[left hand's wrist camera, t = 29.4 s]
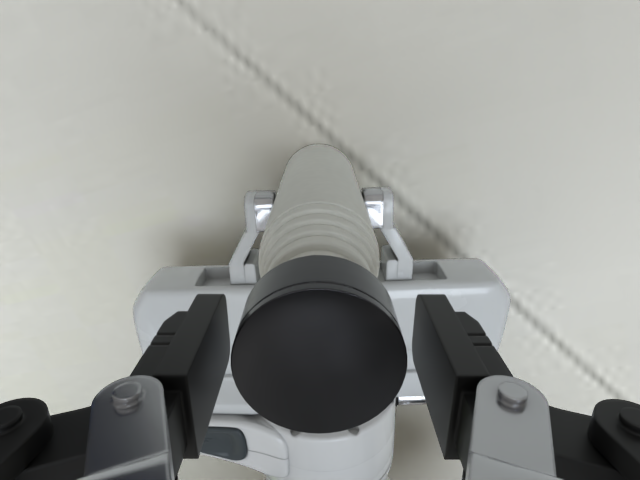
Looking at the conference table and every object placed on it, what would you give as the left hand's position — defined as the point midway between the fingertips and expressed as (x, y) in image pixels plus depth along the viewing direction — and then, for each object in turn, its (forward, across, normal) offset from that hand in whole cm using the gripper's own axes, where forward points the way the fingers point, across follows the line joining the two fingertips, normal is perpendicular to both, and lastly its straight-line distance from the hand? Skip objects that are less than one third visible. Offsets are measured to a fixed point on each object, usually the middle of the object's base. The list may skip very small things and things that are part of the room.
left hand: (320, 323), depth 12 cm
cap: (-2, 0, 0) cm, 2 cm away
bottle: (+17, 0, 0) cm, 17 cm away
